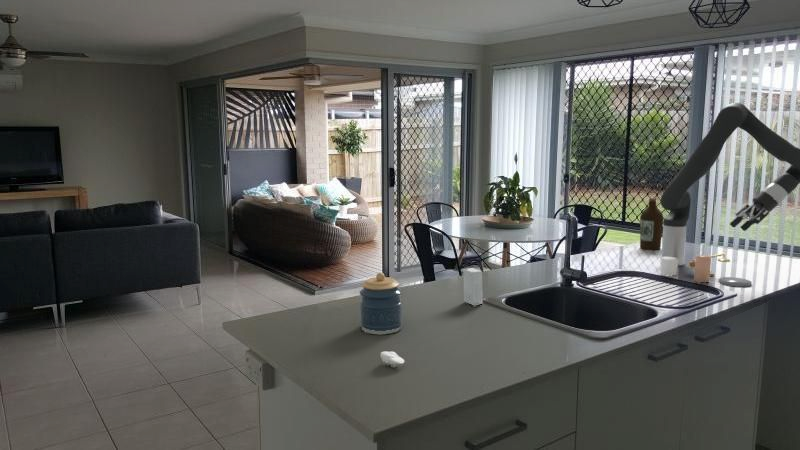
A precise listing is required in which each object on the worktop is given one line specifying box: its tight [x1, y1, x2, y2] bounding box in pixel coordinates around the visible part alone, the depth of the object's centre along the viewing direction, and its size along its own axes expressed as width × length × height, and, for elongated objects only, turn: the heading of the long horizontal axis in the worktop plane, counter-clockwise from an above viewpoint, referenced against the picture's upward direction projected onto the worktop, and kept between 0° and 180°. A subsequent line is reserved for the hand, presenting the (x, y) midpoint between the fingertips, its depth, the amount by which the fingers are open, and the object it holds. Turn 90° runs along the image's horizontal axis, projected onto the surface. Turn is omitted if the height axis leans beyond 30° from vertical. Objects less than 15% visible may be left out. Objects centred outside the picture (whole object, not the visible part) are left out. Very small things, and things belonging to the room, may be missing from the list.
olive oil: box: [639, 198, 664, 251], centre depth 295 cm, size 11×11×25 cm
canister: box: [359, 272, 403, 331], centre depth 180 cm, size 13×13×18 cm
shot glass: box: [659, 256, 679, 276], centre depth 243 cm, size 7×7×7 cm
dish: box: [718, 276, 752, 288], centre depth 228 cm, size 11×11×1 cm
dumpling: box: [380, 351, 405, 365], centre depth 152 cm, size 7×5×4 cm
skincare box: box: [462, 267, 484, 305], centre depth 205 cm, size 6×4×12 cm
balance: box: [685, 252, 731, 277], centre depth 241 cm, size 5×16×9 cm, turn 78°
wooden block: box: [693, 254, 712, 283], centre depth 231 cm, size 5×5×10 cm
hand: (736, 227), depth 227 cm, fingers open, 8 cm apart
